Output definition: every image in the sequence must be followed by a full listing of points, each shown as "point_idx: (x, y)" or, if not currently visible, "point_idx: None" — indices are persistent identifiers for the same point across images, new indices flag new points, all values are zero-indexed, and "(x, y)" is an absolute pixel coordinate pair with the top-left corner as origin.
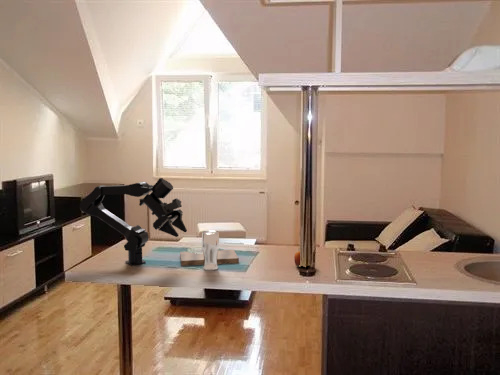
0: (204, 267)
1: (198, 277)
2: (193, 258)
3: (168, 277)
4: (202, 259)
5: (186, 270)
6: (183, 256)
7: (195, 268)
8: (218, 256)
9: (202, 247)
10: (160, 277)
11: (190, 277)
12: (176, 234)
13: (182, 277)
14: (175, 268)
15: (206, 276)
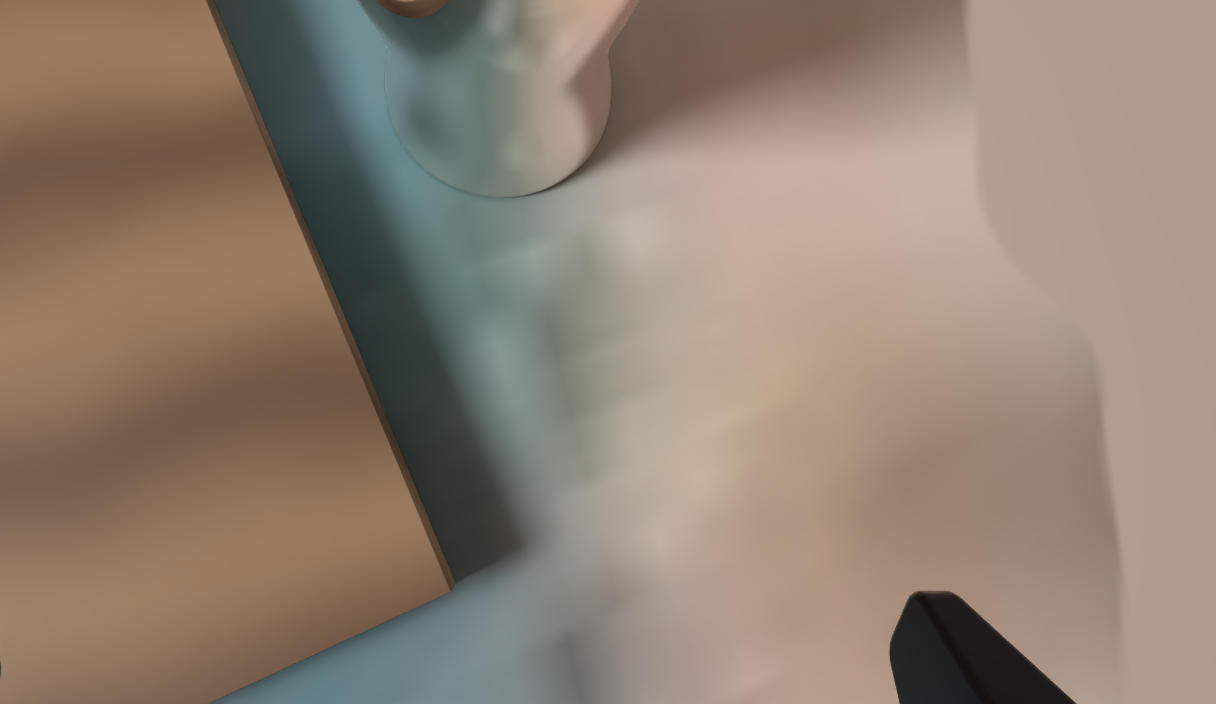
0: (588, 147)
1: (942, 137)
2: (246, 431)
3: (1065, 528)
4: (282, 252)
5: (689, 403)
6: (131, 679)
7: (557, 307)
8: (22, 37)
9: (611, 9)
10: (1101, 640)
11: (973, 236)
12: (1001, 664)
13: (1006, 339)
14: (633, 614)
15: (873, 51)
